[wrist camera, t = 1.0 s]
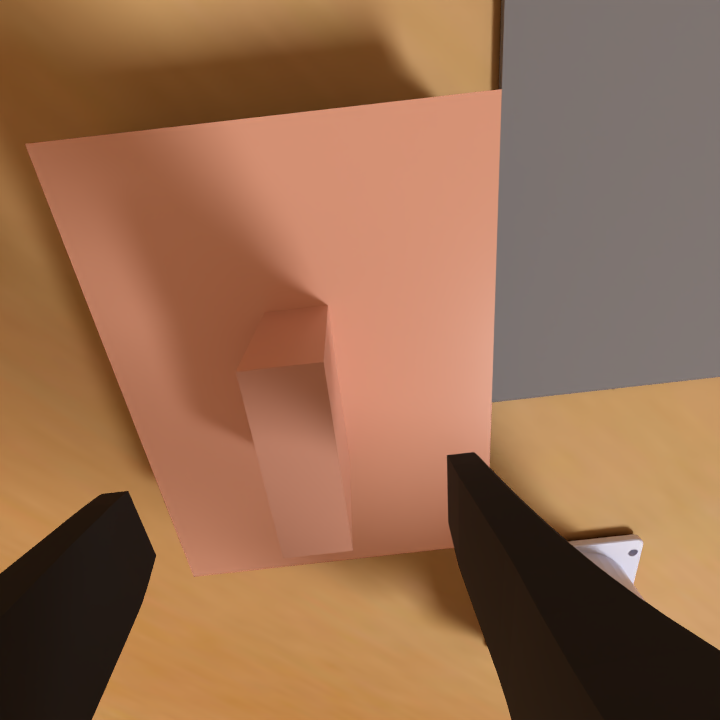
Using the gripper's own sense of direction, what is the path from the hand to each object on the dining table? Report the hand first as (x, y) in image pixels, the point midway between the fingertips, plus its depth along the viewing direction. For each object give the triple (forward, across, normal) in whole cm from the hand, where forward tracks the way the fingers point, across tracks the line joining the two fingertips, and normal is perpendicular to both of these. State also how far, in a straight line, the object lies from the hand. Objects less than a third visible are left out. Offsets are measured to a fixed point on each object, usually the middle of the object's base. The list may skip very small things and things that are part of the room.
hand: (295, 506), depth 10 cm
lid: (+6, 0, 0) cm, 6 cm away
